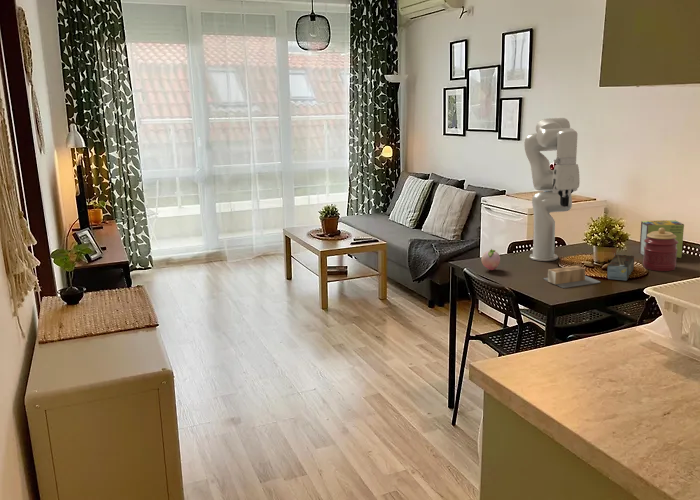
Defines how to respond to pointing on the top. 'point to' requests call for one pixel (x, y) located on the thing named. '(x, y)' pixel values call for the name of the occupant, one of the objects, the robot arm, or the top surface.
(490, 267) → the decorative fruit
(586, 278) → the rubber mat
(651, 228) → the protein box
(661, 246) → the canister
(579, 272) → the oak pillar
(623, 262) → the beverage carton
